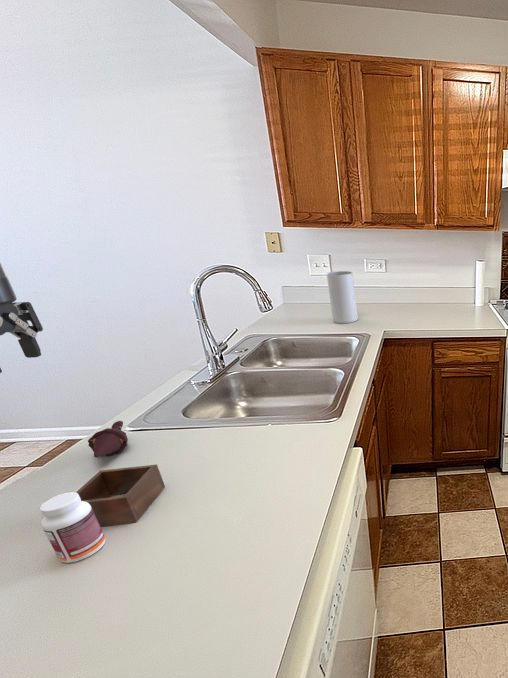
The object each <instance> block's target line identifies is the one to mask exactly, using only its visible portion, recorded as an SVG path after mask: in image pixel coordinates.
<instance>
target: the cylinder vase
mask: <svg viewBox="0 0 508 678" xmlns="http://www.w3.org/2000/svg"><path fill="white" fill-rule="evenodd" d="M326 280H327V288H328V293H329V301H330V307H331V314H332V321H333V322H334V323H336V324H351V323H354V322H357V321H358V319H359V317H358V308H357V300H356V291H355V282H354V274H353V271H348V270H340V271H337V270H336V271H330V272H327V273H326Z"/></svg>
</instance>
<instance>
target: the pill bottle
mask: <svg viewBox="0 0 508 678" xmlns="http://www.w3.org/2000/svg"><path fill="white" fill-rule="evenodd" d="M76 492H77V491H70V492H64V493H60V494H58V495H55V496H53V497H51V498H49V499H47V500H46V501H44V502H43V503H42V504H41V505H40V507H39V511H40V512H41V515H42V516H43V518H42V519H41V522H40V526H41V529H42V530H43V532H44V534H45V536H46V538H47V540H48V541H49V543H50V545H51V547H52V549H53V550H54V552H55V555H56V556H57V558H58V559H59V561H60V562H62V563H66V564H68V563H70V564H71V563H75V562H78V561H79V562H80V561H81V560H84V559H87V558H89V557H91V556H93V555H94V554H96V553H97V552H98V551H99V550H101V549H102V547H104V545H105V543H106V539H107V538H106V535H105V533H104V532H103V529H102V527H100V524H99V522H98V520H97V518H96V516H95V514H94V512H93V510H92V507H91V506H90V504H89V503H87V502H84V501H81V498H80V497H79V495H78V493H76Z"/></svg>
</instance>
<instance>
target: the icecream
mask: <svg viewBox="0 0 508 678" xmlns="http://www.w3.org/2000/svg"><path fill="white" fill-rule="evenodd" d="M123 426H124V422H123V421H122V420H117V421H115V422H113V423H112V425H111V427H106V428H103V429H102V430H100V431H96V432H95V433H94V434H93V435H92V436H91V437H89V438H88V439H87V443H88V447H89V448H90V449H91V450H92V451H93V458H95V459H96V458H99V457H102V456H104V457H110V455H111V456H115V455H119V454H121V453H122V452H123V451H124V450H125V449H126V447H128V440H129V439H128V435H127V433H126V432H125V431H123V430H122V428H123ZM114 454H115V455H114Z"/></svg>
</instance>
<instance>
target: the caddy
mask: <svg viewBox="0 0 508 678" xmlns="http://www.w3.org/2000/svg"><path fill="white" fill-rule="evenodd" d="M165 488H166V485H165V482H164V480H163V476H162V474H161V472H160V468H159V466H158V464H148V465H140V466H130V467H120V468H110V469H101V470H99V471H98V472H96V473H95V474H94V476H92V477H90V479H89V480H88V481H86V483H84V484H83V485H82V486H81V487H79V489H78V490H77V491H75V492H76V493H78V495H79V497H80V498H81V501H84V502H87V503H89V504H90V506H91V507H92V510H93V512H94V514H95V516H96V518H97V520H98V522H99V524H100V527H101V528H103V527H109V526H110V527H111V526H119V525H126V524H127V525H128V524H134V523H138V521H139V520H140V519H141V518H142V517H143V515H144V514H145V513H146V511H147V510H148V509H149V508H150V506H151V505H152V504H153V503H154V501H155V500H156V499H157V498H158V497H159V495H160V494H161V493H162V491H163V490H164V489H165ZM117 495H118V496H117Z"/></svg>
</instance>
